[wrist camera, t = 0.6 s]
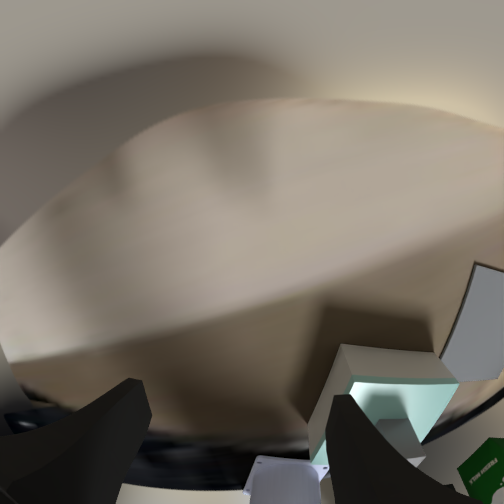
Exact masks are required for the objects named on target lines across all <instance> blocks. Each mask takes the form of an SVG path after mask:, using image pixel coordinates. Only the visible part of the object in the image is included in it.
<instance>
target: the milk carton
mask: <svg viewBox="0 0 504 504" xmlns="http://www.w3.org/2000/svg"><path fill="white" fill-rule="evenodd" d="M457 470H458V471H459V474H460V476H461V478H462V481H463V483H464V485H465V487H466V489H467V492H468V494H469V496H470V497H471V498H474V499H477V500H480V501H482V502H483V504H504V438H488V439H487V440H486V441H485V442H484V443H483V444H482V445H481V447H479V448H478V449H477V450H476V451H475V452H474V453H473V454H472V455H471V456H470V457H469V458H468V459H467V460H466V461H465V462H464V463H463V464H462V465H460V466H459V467H458V468H457Z"/></svg>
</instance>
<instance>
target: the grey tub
mask: <svg viewBox="0 0 504 504" xmlns="http://www.w3.org/2000/svg"><path fill="white" fill-rule="evenodd" d="M352 375H363V376H377V377H396V378H455V377H454V376H453V375H452V373H451V372H450V371H449V370H448V368H447V367H446V366H445V365H444V364H443V362H442V361H441V360H440V359H439V358H438V356H437V355H436V354H435V353H434V352H420V351H406V350H395V349H384V348H374V347H365V346H357V345H349V344H340V347H339V349H338V352H337V355H336V358H335V360H334V363H333V365H332V368H331V371H330V373H329V376H328V378H327V381H326V383H325V386H324V388H323V390H322V393H321V395H320V398H319V400H318V402H317V405H316V407H315V409H314V411H313V414H312V416H311V418H310V420H309V422H308V424H307V426H308V438H309V450H310V456H311V455H312V453H313V451H314V450H315V448H316V446H317V444H318V442H319V441H320V439H321V437H322V435H323V433H324V432H325V428H326V424H327V421H328V417H329V413H330V409H331V405H332V401H333V397H334V395H342V394H343V393H344V391H345V389H346V387H347V385H348V382H349V380H350V378H351V376H352Z"/></svg>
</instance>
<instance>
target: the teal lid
mask: <svg viewBox="0 0 504 504" xmlns="http://www.w3.org/2000/svg"><path fill="white" fill-rule="evenodd" d="M459 384H460V383H459V382H458V381H457V380H456V378H396V377H377V376H363V375H352V376H351V378H350V380H349V382H348V385H347V387H346V389H345V391H344V393H343V394H351V395H352V397H353V398H354V399H355V401H356V402H357V404H358V405H359V406H360V408H361V409H362V411H363V412H364V413H365V414H366V416H367V417H368V418H369V420H370V421H371V422H372V423H373V425H374V426H375V427H376V428H377V429H378V431H379V432H380V433H381V434H382V435H383V436H384V438H385V439H386V440H387V441H388V442H389V443H390V444H391V445H392V446H393V447H394V448H395V449H396V450H397V451H398V452H399V453H400V454H401V455H402V456H403V457H404V458H405V459H407V460H408V461H409V462H410V463H411V464H413V465H414V466H415V467H417V466H418V465H419V464H420V463H421V462H422V460H423V459H424V458H425V457H426V455H425V453H424V450H423V448H422V446H421V444H420V443H421V442H422V440H423V439H424V438H425V436H426V435H427V434H428V432H429V431H430V429H431V428H432V427H433V425H434V424H435V422H436V421H437V419H438V418H439V416H440V415H441V413H442V412H443V410H444V409H445V407H446V406H447V404H448V402H449V401H450V399H451V398H452V396H453V394H454V393H455V391H456V389H457V387H458V386H459ZM310 464H311V465H329V464H328V458H327V453H326V438H325V432H324V433H323V435H322V437H321V439H320V441H319V442H318V444H317V446H316V448H315V450H314V451H313V453H312V455H311V456H310Z"/></svg>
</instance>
